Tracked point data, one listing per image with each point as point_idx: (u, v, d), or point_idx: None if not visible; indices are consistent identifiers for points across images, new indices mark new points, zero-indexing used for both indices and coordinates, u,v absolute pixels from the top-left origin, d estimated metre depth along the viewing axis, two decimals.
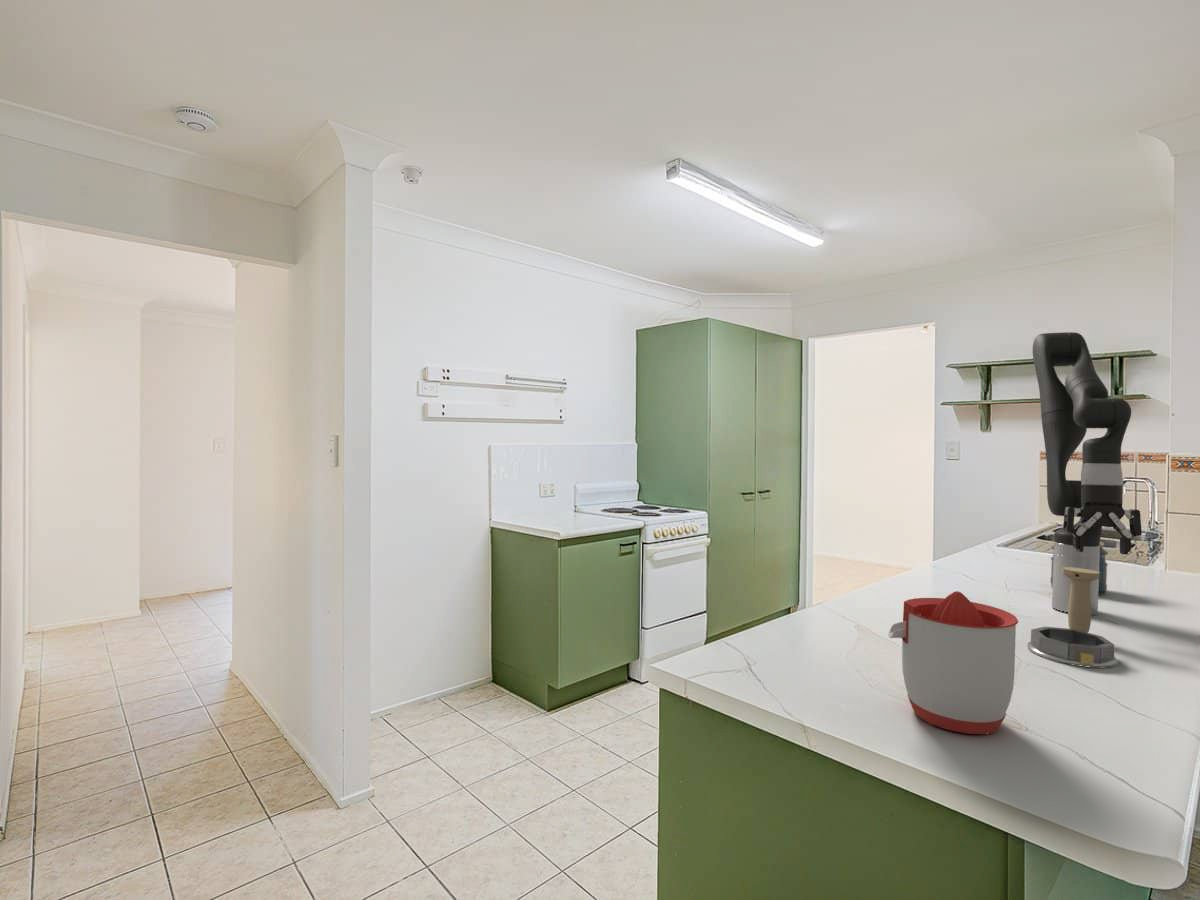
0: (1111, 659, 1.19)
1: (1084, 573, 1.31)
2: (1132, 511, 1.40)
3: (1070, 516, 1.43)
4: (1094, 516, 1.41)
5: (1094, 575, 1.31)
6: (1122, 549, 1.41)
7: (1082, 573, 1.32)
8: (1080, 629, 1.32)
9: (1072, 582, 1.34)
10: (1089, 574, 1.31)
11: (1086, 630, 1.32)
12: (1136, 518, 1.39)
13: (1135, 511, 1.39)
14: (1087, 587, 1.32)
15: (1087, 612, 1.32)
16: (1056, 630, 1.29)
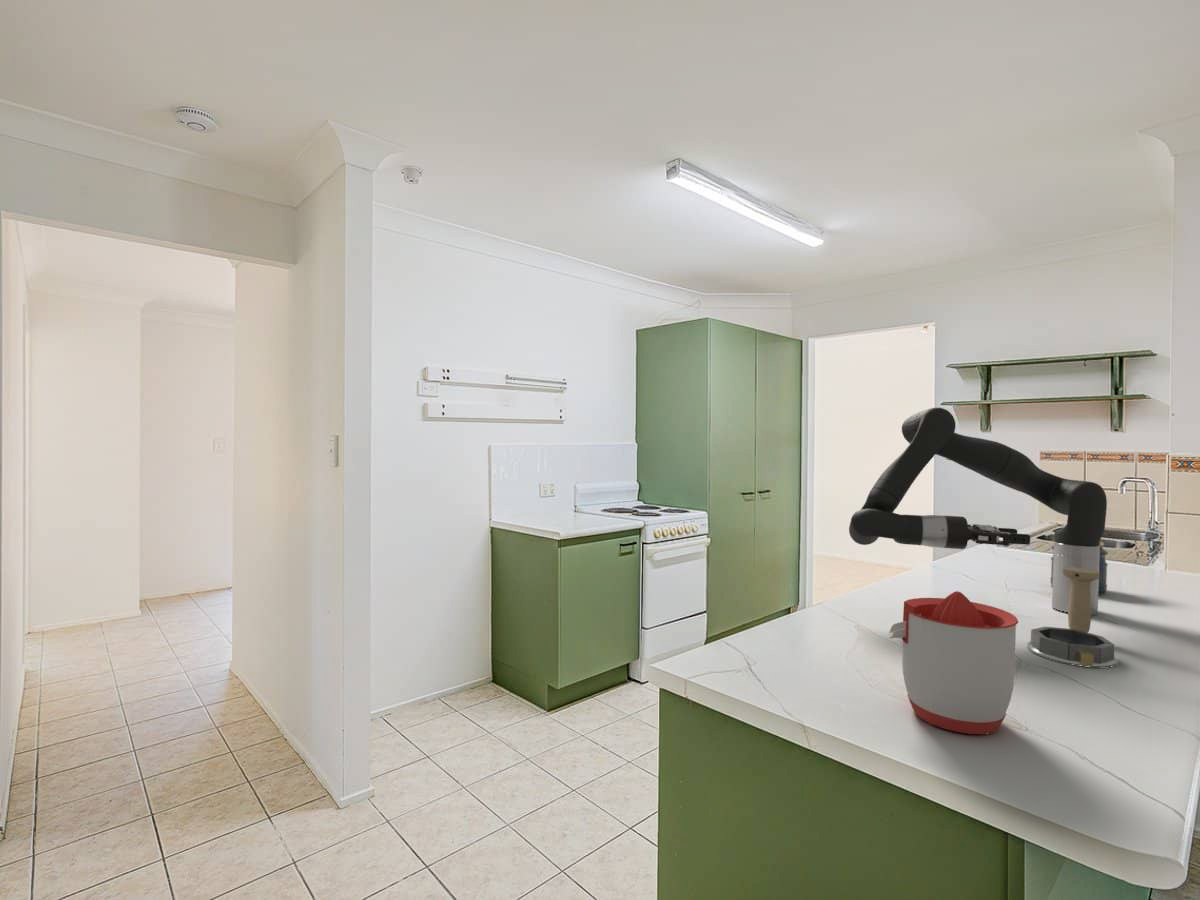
0: (1111, 659, 1.19)
1: (1084, 573, 1.31)
2: None
3: None
4: None
5: (1094, 575, 1.31)
6: None
7: (1082, 573, 1.32)
8: (1080, 629, 1.32)
9: (1072, 582, 1.34)
10: (1089, 574, 1.31)
11: (1086, 630, 1.32)
12: (987, 543, 1.34)
13: None
14: (1087, 587, 1.32)
15: (1087, 612, 1.32)
16: (1056, 630, 1.29)
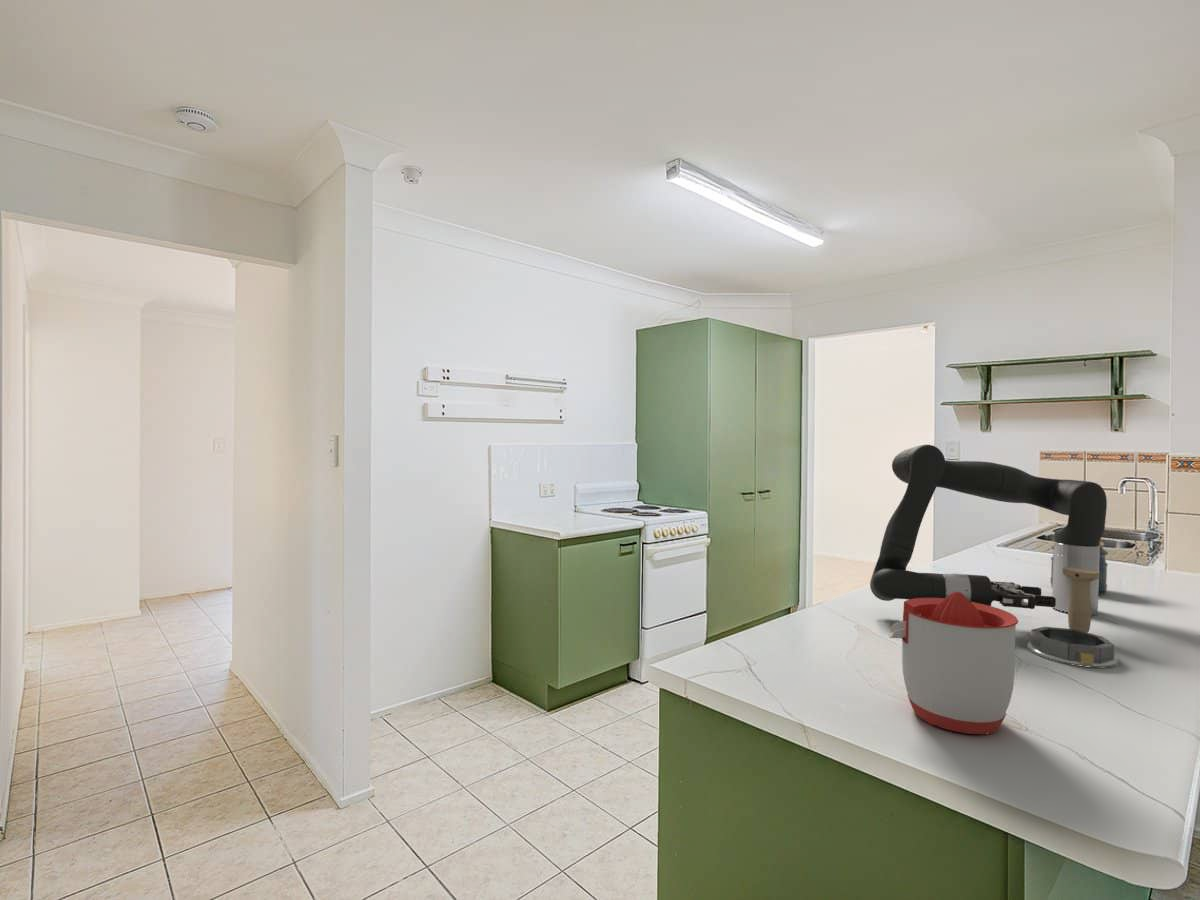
0: (1111, 659, 1.19)
1: (1084, 573, 1.31)
2: None
3: None
4: None
5: (1093, 575, 1.31)
6: None
7: (1082, 573, 1.32)
8: (1080, 629, 1.32)
9: (1072, 582, 1.34)
10: (1089, 574, 1.31)
11: (1086, 630, 1.32)
12: None
13: None
14: (1087, 587, 1.32)
15: (1087, 612, 1.32)
16: (1056, 630, 1.29)
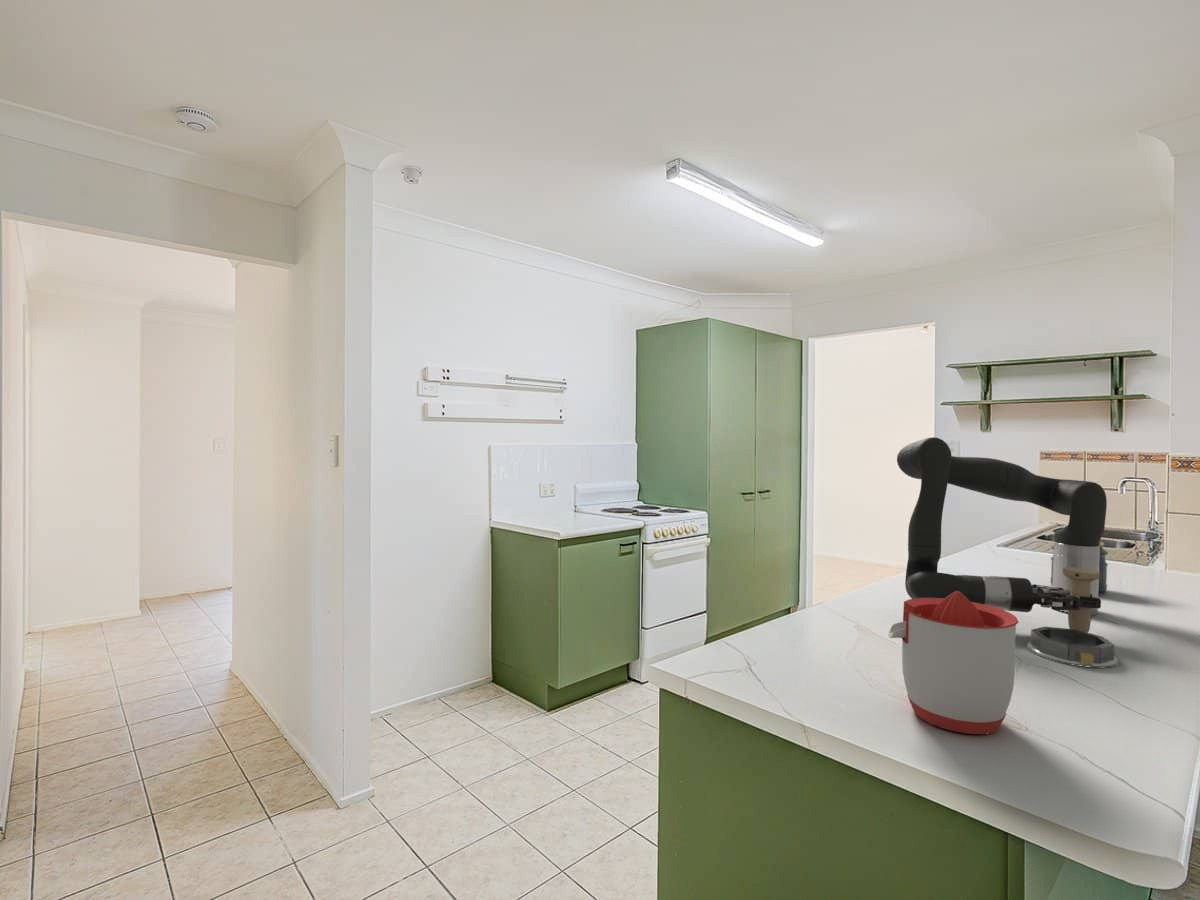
0: (1111, 659, 1.19)
1: (1084, 573, 1.31)
2: None
3: None
4: None
5: (1094, 575, 1.31)
6: None
7: (1082, 573, 1.32)
8: (1080, 629, 1.33)
9: (1072, 582, 1.34)
10: (1089, 574, 1.31)
11: (1086, 630, 1.32)
12: None
13: None
14: (1087, 587, 1.32)
15: (1087, 612, 1.32)
16: (1056, 630, 1.29)
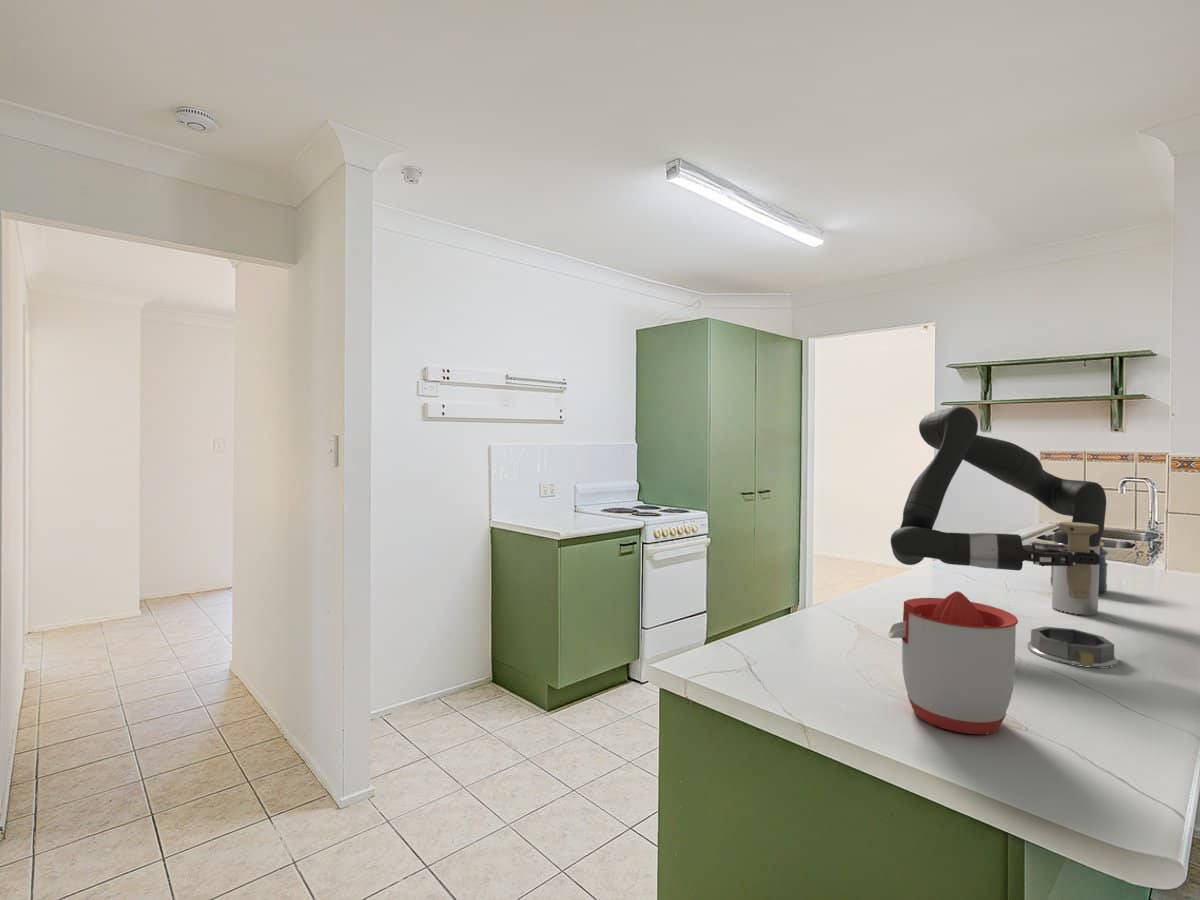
0: (1111, 659, 1.19)
1: (1079, 526, 1.21)
2: None
3: None
4: None
5: (1089, 528, 1.20)
6: None
7: (1077, 526, 1.21)
8: (1078, 588, 1.22)
9: (1069, 537, 1.24)
10: (1084, 527, 1.20)
11: (1085, 589, 1.22)
12: None
13: None
14: (1084, 542, 1.21)
15: (1085, 569, 1.21)
16: (1056, 630, 1.29)
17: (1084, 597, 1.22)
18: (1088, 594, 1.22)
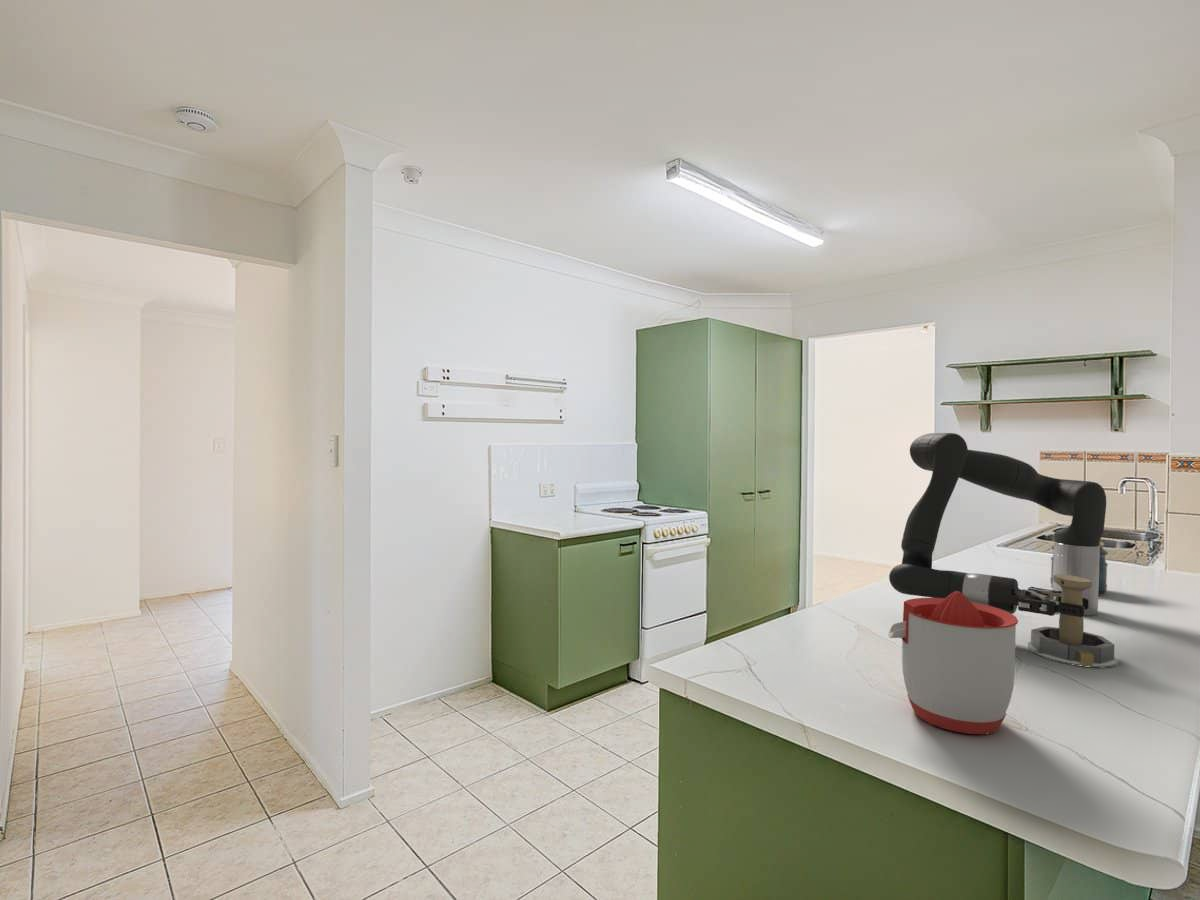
0: (1111, 659, 1.19)
1: (1069, 580, 1.22)
2: None
3: None
4: None
5: (1079, 583, 1.20)
6: None
7: (1067, 580, 1.22)
8: (1067, 641, 1.23)
9: (1062, 590, 1.24)
10: (1074, 582, 1.21)
11: (1074, 643, 1.22)
12: None
13: None
14: (1075, 596, 1.22)
15: (1075, 624, 1.22)
16: (1056, 630, 1.29)
17: None
18: None
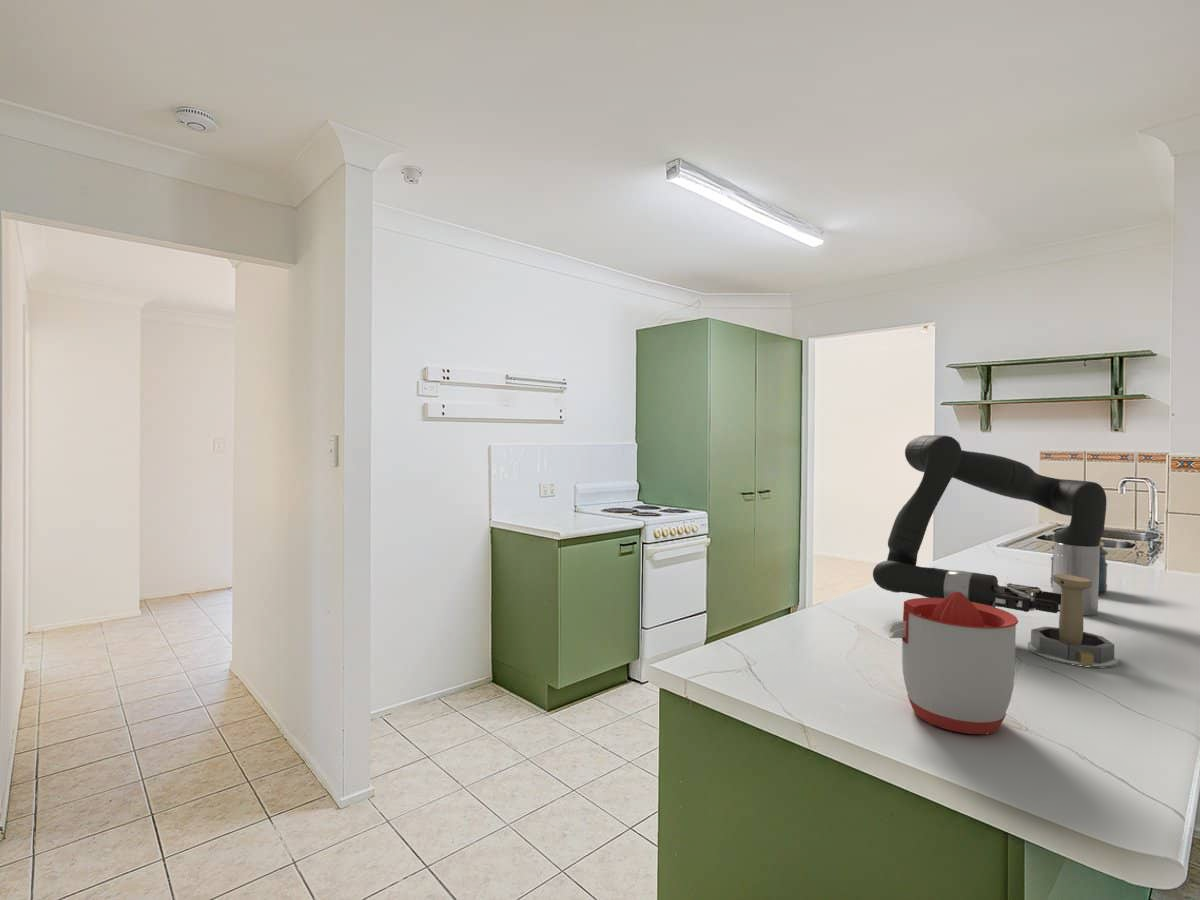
0: (1111, 659, 1.19)
1: (1068, 580, 1.22)
2: None
3: None
4: None
5: (1079, 583, 1.20)
6: None
7: (1066, 580, 1.22)
8: (1067, 641, 1.23)
9: None
10: (1074, 582, 1.21)
11: (1074, 643, 1.22)
12: None
13: None
14: (1075, 596, 1.22)
15: (1075, 624, 1.22)
16: (1056, 630, 1.29)
17: None
18: None
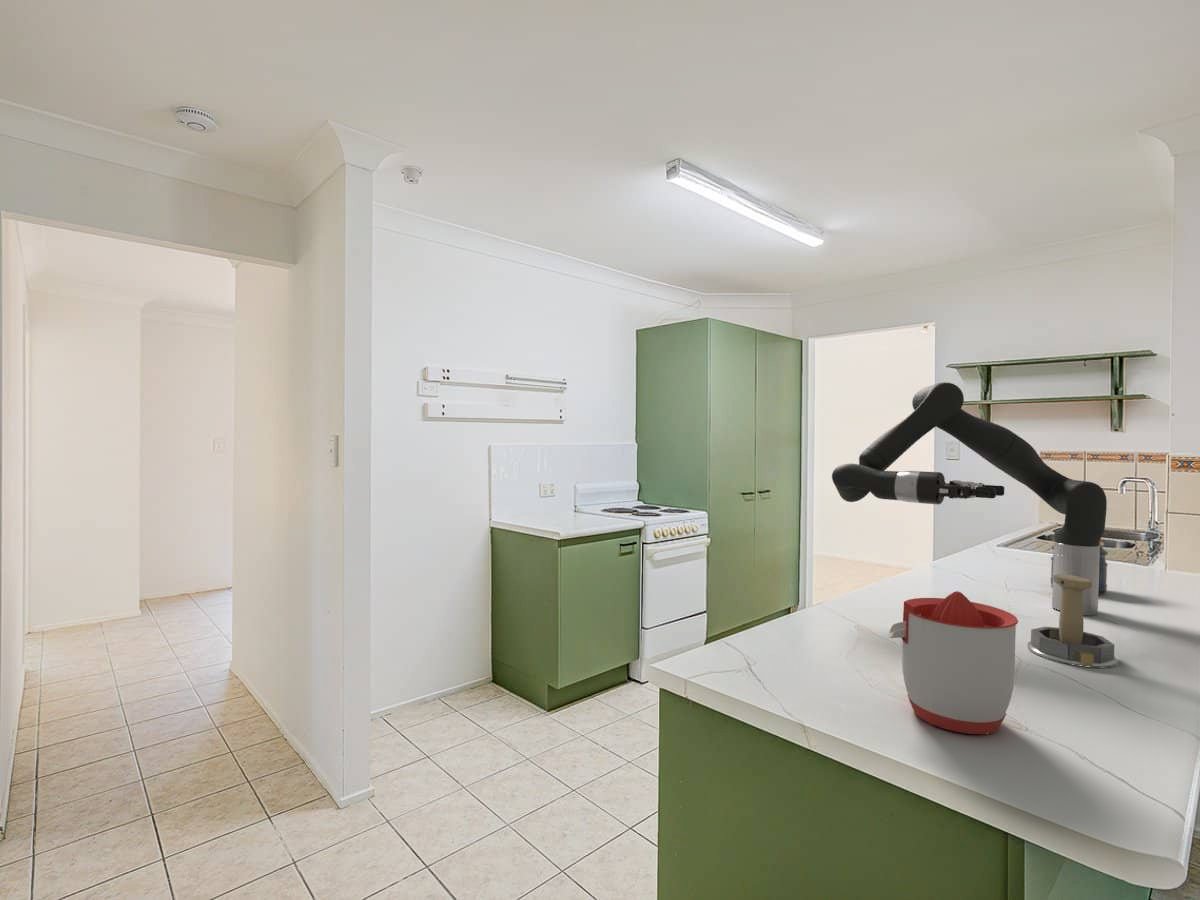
0: (1111, 659, 1.19)
1: (1069, 580, 1.22)
2: None
3: None
4: None
5: (1079, 583, 1.20)
6: None
7: (1067, 580, 1.22)
8: (1067, 641, 1.23)
9: None
10: (1074, 582, 1.21)
11: (1074, 643, 1.22)
12: (949, 496, 1.35)
13: None
14: (1075, 596, 1.22)
15: (1075, 624, 1.22)
16: (1056, 630, 1.29)
17: None
18: None
